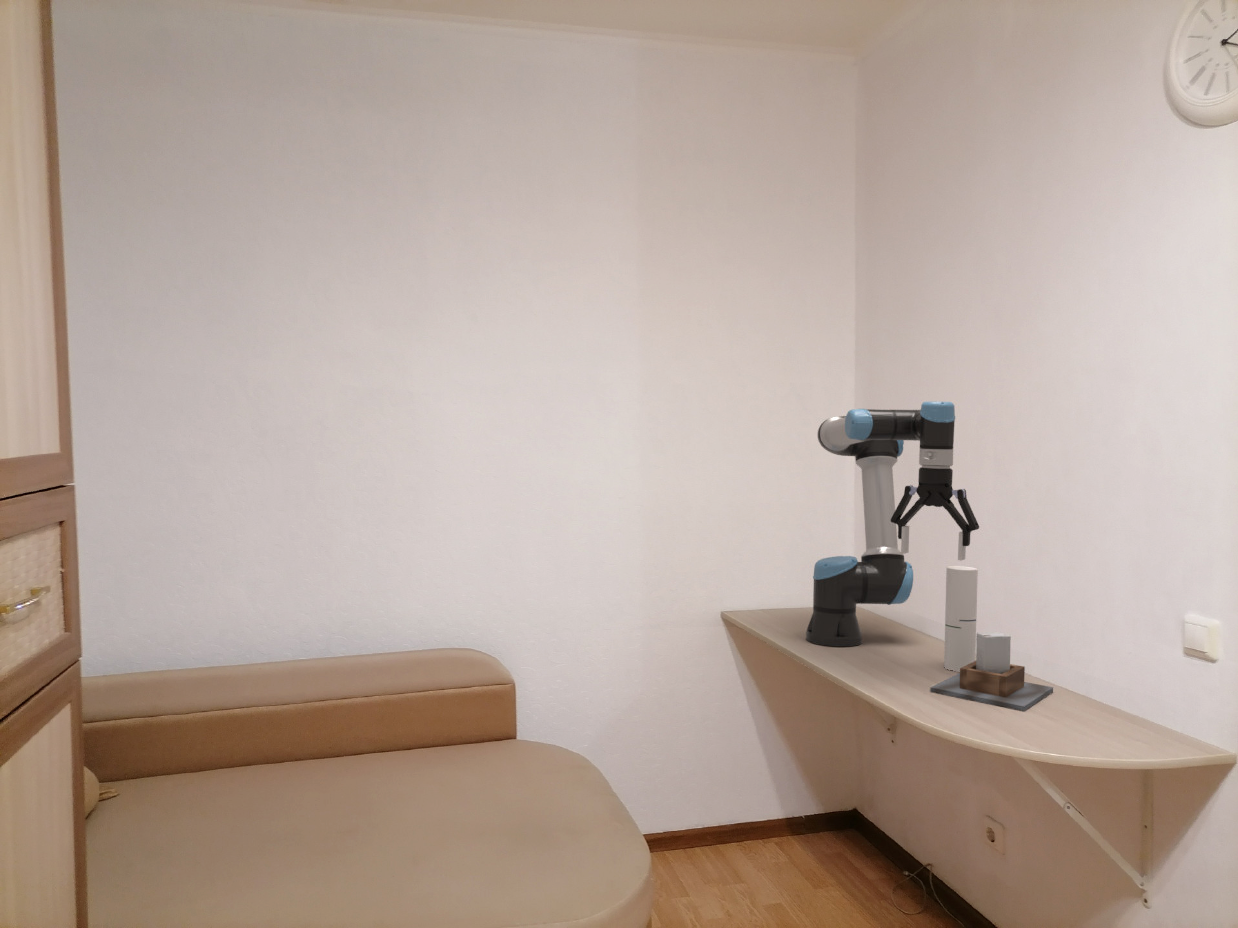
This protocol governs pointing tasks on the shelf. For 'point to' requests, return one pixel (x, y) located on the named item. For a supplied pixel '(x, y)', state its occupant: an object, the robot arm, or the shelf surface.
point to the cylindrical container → (960, 617)
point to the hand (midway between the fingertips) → (932, 556)
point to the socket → (994, 687)
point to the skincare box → (993, 652)
